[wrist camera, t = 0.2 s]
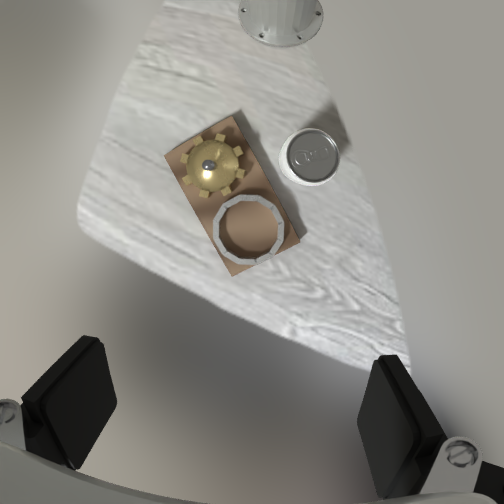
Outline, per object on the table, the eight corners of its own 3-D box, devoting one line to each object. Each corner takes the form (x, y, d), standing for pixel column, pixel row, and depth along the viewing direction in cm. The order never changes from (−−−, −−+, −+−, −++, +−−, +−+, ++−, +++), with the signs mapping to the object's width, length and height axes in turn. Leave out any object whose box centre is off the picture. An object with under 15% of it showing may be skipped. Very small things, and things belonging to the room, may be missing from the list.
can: (273, 143, 42) (275, 132, 30) (317, 133, 41) (335, 120, 30) (284, 187, 43) (290, 193, 32) (328, 177, 43) (349, 180, 31)
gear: (172, 155, 42) (161, 153, 37) (226, 123, 40) (221, 117, 36) (201, 208, 43) (194, 213, 39) (257, 178, 42) (256, 178, 38)
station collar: (202, 215, 44) (200, 216, 42) (262, 181, 42) (262, 182, 41) (235, 273, 45) (234, 276, 44) (295, 243, 44) (296, 245, 43)
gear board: (167, 156, 43) (163, 155, 42) (232, 117, 41) (231, 115, 40) (233, 273, 47) (232, 276, 46) (299, 239, 45) (300, 242, 44)
